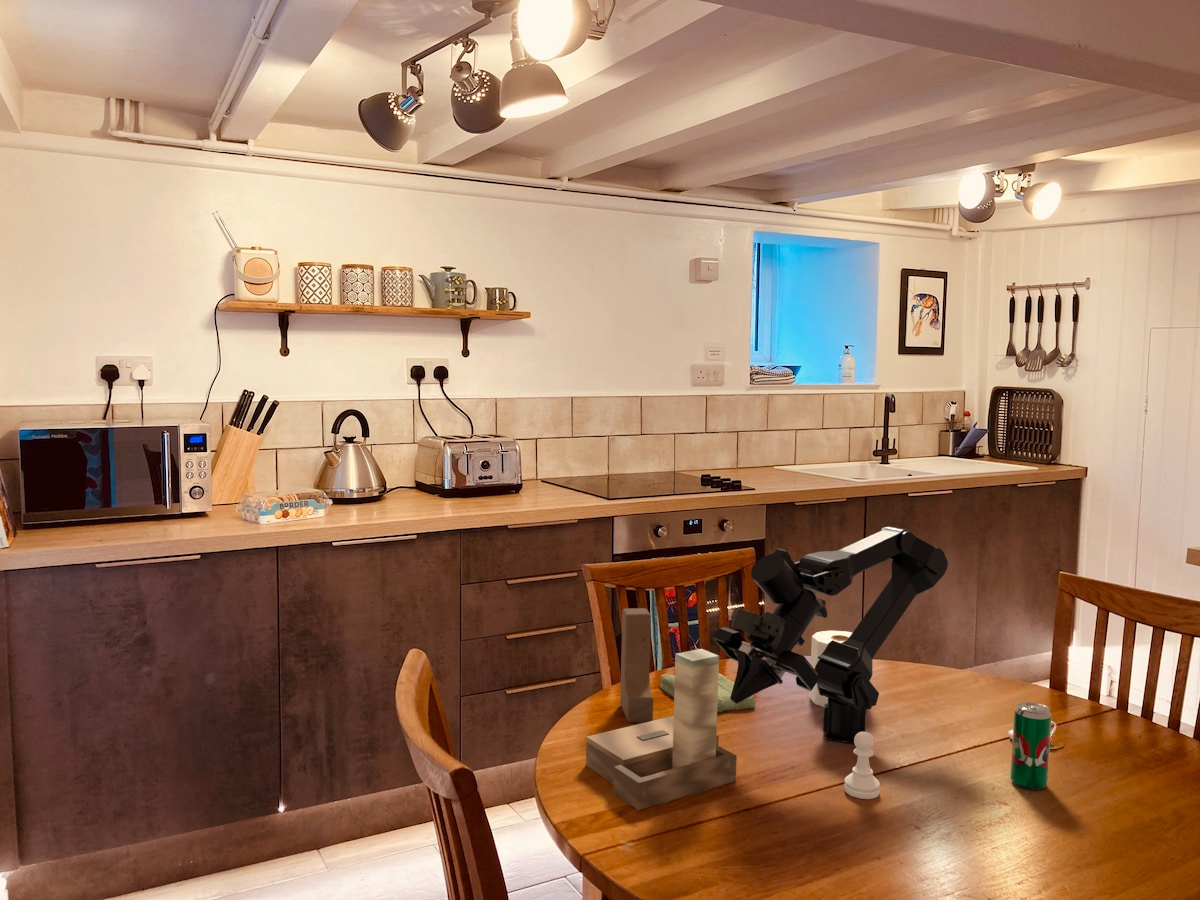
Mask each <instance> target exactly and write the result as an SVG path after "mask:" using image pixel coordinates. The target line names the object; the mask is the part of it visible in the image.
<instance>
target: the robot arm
mask: <svg viewBox="0 0 1200 900" xmlns="http://www.w3.org/2000/svg"><path fill="white" fill-rule="evenodd" d="M887 560H890V561H891V562H890V579H889V581H888V582H887V584H886V585H885V587H884V588H883V589H882V590H881V592H880V593H879V595H878V596H877V598H876V599H875V601H874V602H873V603H872V604H871V606H870V608H869V609H868V610H867V611H866V613H865V615H864V616H863V617H862V619H861V620H860V622H858V624H857V626H856V627H855V629H853V631H852V632H851V633H852V634H851V636H850V637H849V638H848V640H846V641H845V642H842V643H839V642H836V641H833V640H832V641H831V642H830V643H828V645H827V647H826V649H825V650H824V652H823V653H822V654H821V655H820V656H818V659H820V660H819V661H818V662H817V664H816V666H815V669H814V668H813V667H812V665H811V662H810V661H808V659H807V658H806V656H804V655H803V654H800V653H797V652H794V651H793V649H794V648H795V646H796V645H797V646H800V647H802V646H803V645H804V643H805V639H804V638H803V635H804V633H805V631H807V628H808V627H809V626H810V624H811V623H812V622H813V620H814V618H816V616H817V617H821V618H824V619H826V618H828V609H827V606H826V603H827V602H826V600H825V599H821V598H818V596H817V595H816V594H815V593H819V594H823V595H827V596H831V597H832V596H837V595H839V594H840V593H842V592H843V591H844V590H845V589H847V588H848V587H849V586H851V585H852V583H853V579H854V577H855V576H857V575H858V574H860V573H862V572H864V571H866V570H869V569H870V568H872V567H874V566H877V565H879V564H881V563H883V562H885V561H887ZM948 563H949V561H948V559H947V557H946V554H945V552H944V550H943V549H942V548H939V547H937V546H935V547H934V546H933V545H932V544H930V543H928V542H926V541H924V540H923V539H921V538H918V537H917V536H916V535H915V534H914V533H913V532H910V531H909V530H907V529H905V528H899V527H894V526H886V527H882V528H881V529H880V530H879V531H878V532H876V533H874V534H871V535H869V536H867V537H865V538H863V539H860V540H858V541H856V542H854V543H851V544H850V545H847V546H845V547H843V548H840V549H837V550H831V551H830V550H826V551H817V552H813V553H812V552H811V553H809V554H808V553H807V554H805V555H804V556H802V557H801V558H800V559H799V560H798V561H795V562H794V561H793V559H792V557H791V555H790V553H789V552H788V551H787V550H784V549H781V548H776V549H775V551H774V552H773V553H769V554H767V555H764V556H763V557H761V558H760V559H759V560H756V562H755V563H753V566H752V567H751V570H750V575H751V578H752V579H753V581H754V582H755V584H756V585H757V586H758V587H759V588H760V589H761V591H762V592H763V593H764V594H765V596H766V597H767V598H768V600H769V601H770V602H771V603H773V604H776V607H775V608H774V609H773V611H772V612H768V611H765V612H764V613H762V614H761V615H760V614H758V613H755V612H751V611H749V610H746V609H743V608H740V607H738V608H737V610H736V612H735V614H734V617H733V620H732V623H731V626H730V627H731V628H733V629H731V628H728V627H725V626H724V627H719V628H718V629H717V631H716V632H715V633H714V635H713V637H712V640H713V641H714V642H715V643H716V644H717V645H718V646H719V648H721V650H722V651H723V652H724V654H725V655H727V657H728V658H730V659H731V660H733V661H734V662H735V661H736V662H737V669H736V670H737V672H736V675H735V679H734V681H733V682H734V686H733V690H732V693H731V697H730V699H731V700H732V702H734V703H736V704H737V703H739V702H741V701H743V700H745V699H747V698H748V697H750V696H752V695H756V694H758V693H759V692H761V691H764V690H765V689H766V690H767V689H768V688H770V687H772V686H775V685H777V684H778V685H782V684H783V683H784V681H783V679H782V678H783V676H784V675H785V673H789V674H791V675H793V676H796V677H795V682H796V685H797V687H800V688H802V689H804V690H806V691H809V692H810V691H812V689H813V688H814V686H815V685H816V683H817V687H818V691H819V695H821V696H825V697H828V704H825V705H824V707H823V720H822V721H823V722H822V732H823V733H825V736H824V738H825V740H826V741H834V742H842V743H849V744H854V738H855V736H856V734H857V733H859V732H867V728H866V727H867V726H866V722H867V710H871V709H872V708H873V707H874V706H876V705H877V703H878V699H879V695H880V693H879V691H878V690H877V688H876V687H875V686H874V685H873V683H872V682H871V679H872V677H873V660H874V657H875V655H876V654H877V652H878V651H879V649H880V648H881V647H882V646H883V644H884V643H885V641H886V639H887V638H888V636H889V635H890V634H891V633H892V631H893V630H894V628H895V626H896V625H897V624H898V622H899V621H900V619H901V618H902V617H903V615H904V613H905V612H906V610H907V609H908V608H909V607H910V605H911V604H912V602H913V601H914V599H915V598H916V596H917V595H919V594H922V593H923V592H926V591H928V590H930V589H931V588H933V587H934V586H935V585H936V584H937V583H938V582H939V581H940V580H941V579H942V578H943V577H944V575H945V574H946V572H947V570H948V565H949V564H948ZM734 629H735V630H734ZM736 629H738V630H740V631H742V632H744V633H745V635H744V636H743V635H742V634H741V633H740V631H737V630H736ZM745 637H746V638H745ZM746 639H747V640H748V641H750V642H751V643H750V642H748V641H747V640H746Z"/></svg>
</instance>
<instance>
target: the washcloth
mask: <svg viewBox="0 0 1200 900" xmlns="http://www.w3.org/2000/svg"><path fill="white" fill-rule="evenodd" d="M659 681H660V682H661V683H660V684H659V687H660V689H661V690H663V691H664V692H665V693H667V694H669V696H671V697H672V698H674V687H675V674H669V673H668V674H667V673H665V674H661V676H660V679H659ZM734 682H735V681H732V680H730V679H729V678H727V677H725V676H724V675H723V674H721V673H720V672H718V703H717V713H722V712H724V711H731V710H734V711H739V710H749V709H752V708H755V706H756V700H755V697H754V695H755V694H754V695H752V696H750V697H748V698H747V699H745V700H743V701H741V702H739V703H737V704H736V703H734V702H732V700H731V699H730V697H731V693H732V690H733V686H734Z"/></svg>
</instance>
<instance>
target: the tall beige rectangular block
mask: <svg viewBox="0 0 1200 900" xmlns="http://www.w3.org/2000/svg"><path fill="white" fill-rule="evenodd" d="M674 660H675V661H674V675H675V687H674V697H673V716H674V723H673V758H672V769H674V768H678V767H681V766H685V765H689V764H692V763H696V762H700V761H703V760H707V759H710V758H714V757H716V734H717V735H718V733H717V729H718V727H717V725H718V712H717V703H718V673H720V671H719V667H720V664H719V663H720V655H719V654H716V653H713V652H710V651H709V650H707V649H706V650H705V649H703V648H699V649H698V648H697V649H692V650H688V651H683V652H678V653H677V652H676V653H675V658H674Z"/></svg>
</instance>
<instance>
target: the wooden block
mask: <svg viewBox="0 0 1200 900" xmlns="http://www.w3.org/2000/svg"><path fill="white" fill-rule="evenodd" d="M621 613H622V615H621V617H622V618H621V651H620V652H621V653H620V656H621V658H620V700H619V703H620V707H621V709H622V712H623V713H624V716H625V719H626V721H627V722H628V723H630V724H631V723H633V724H634V723H646V722H650V721H654V696H653V694H652V691H651V690H652V689H651V680H650V662H651V661H650V658H651V657H650V655H651V623H652V622H651V621H652V620H651V617H652V616H651V613H650V612H649V610H648V609H647V608H645V607H643V608H642V607H641V608H640V607H638V608H637V607H635V608H632V607H631V608H623V609H622V612H621Z"/></svg>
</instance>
